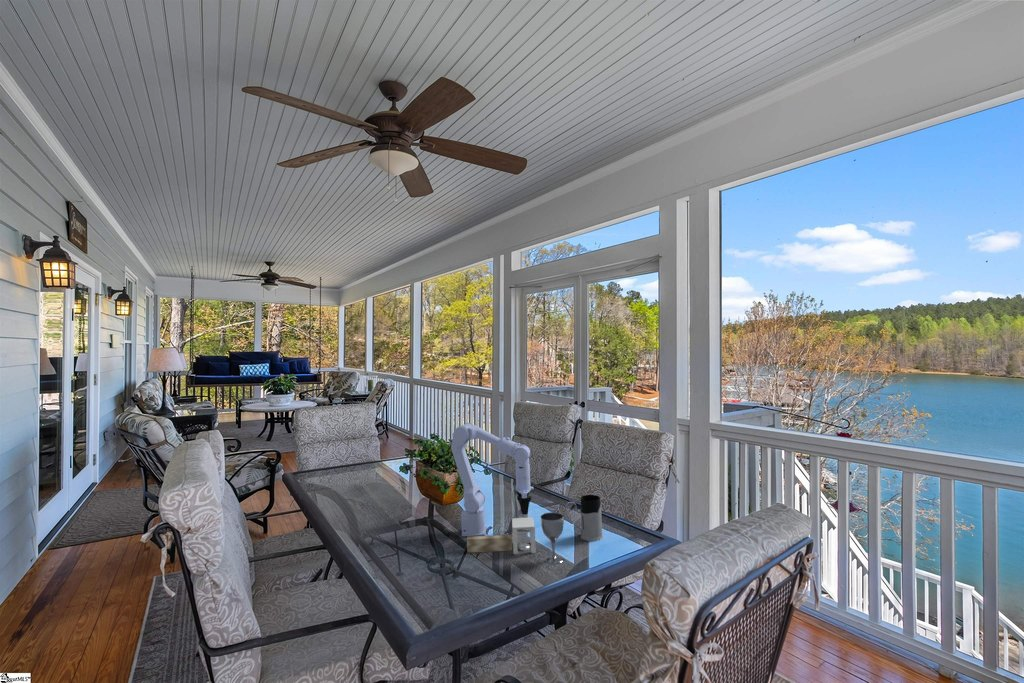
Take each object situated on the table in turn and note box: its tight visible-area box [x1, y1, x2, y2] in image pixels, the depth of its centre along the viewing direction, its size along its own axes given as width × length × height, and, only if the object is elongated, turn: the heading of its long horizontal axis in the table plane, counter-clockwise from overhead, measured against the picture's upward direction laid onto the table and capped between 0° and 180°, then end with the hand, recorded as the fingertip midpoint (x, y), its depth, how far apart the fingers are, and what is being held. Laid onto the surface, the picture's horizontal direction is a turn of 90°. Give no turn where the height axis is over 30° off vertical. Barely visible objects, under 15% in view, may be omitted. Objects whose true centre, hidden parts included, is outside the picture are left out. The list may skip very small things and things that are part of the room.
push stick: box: [466, 534, 513, 554], centre depth 173 cm, size 16×2×5 cm, turn 90°
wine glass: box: [540, 511, 565, 565], centre depth 163 cm, size 8×8×15 cm
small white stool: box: [511, 517, 537, 555], centre depth 173 cm, size 8×10×10 cm
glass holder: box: [565, 494, 604, 542], centre depth 181 cm, size 9×14×15 cm, turn 90°
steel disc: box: [517, 542, 531, 552], centre depth 173 cm, size 4×4×1 cm
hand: (524, 510), depth 186 cm, fingers open, 7 cm apart
